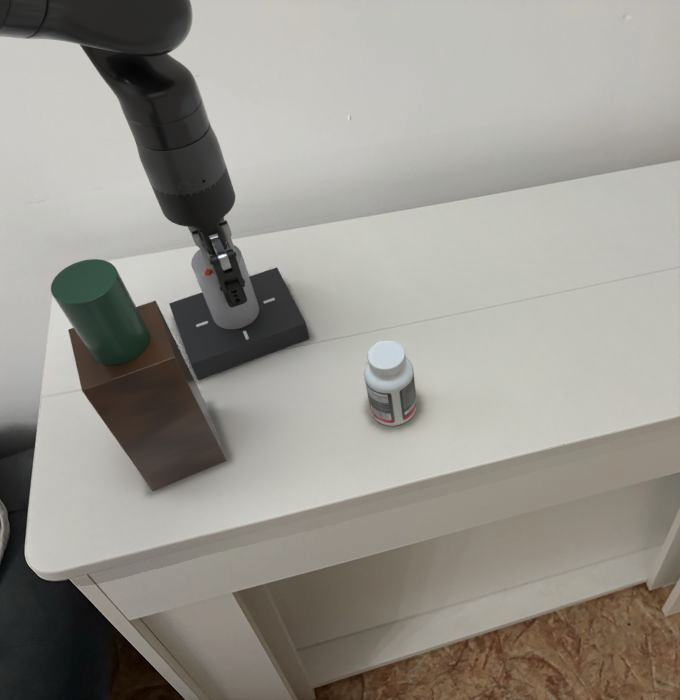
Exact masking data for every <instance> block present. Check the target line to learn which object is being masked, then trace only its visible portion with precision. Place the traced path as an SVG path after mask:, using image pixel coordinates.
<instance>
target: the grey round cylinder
mask: <svg viewBox="0 0 680 700" xmlns="http://www.w3.org/2000/svg"><path fill="white" fill-rule="evenodd" d="M233 245H234V247H235V250H236V253H237V255H238V261H237V262H238V265H239V268H240V271H241V274H242V277H243V279H244V280H245V287H243V289H244V291H245V294H246V297H247V302H246V303H244V304H241V305H238V306H236V307H229V306H228V303H227V301H226V298H225V296H224V293H223V291H221V290H220V285H218V284H217V281H218V280H217V278H216V275H215V273H214V271H213V270H210V269H208V267H207V265H206V263H205V261H204V258H203V256H202V253H201V251H200V249H198V250H197V251H196V252H195V253H194V254H193V256H192V258H191V261H190V262H191V265H190V266H191V268H192V271H193V274H194V277H195V278H196V281H197V283H198V286H199V288H200V290H201V293H203V295H204V298H205V300H206V303H207V305H208V308H209V310H210V312H211V315H212V317H213V320H214V322H215V323H216V324H217V325H218V326H220V327H222V328H224V329H239V328H243V327H245V326H247V325H249V324H250V323H252V322H253V321H254V320H255V319H256V317H257V316H258V313H259V305H258V302H257V299H256V296H255V293H254V290H253V287H252V284H251V281H250V278H249V276H250V275H249V271H248V269H247V265H246V263H245V259H244V255H243V253H242V251H241V249H240V248H239V247H238V246H237V245H235V244H233ZM205 250H206V248H205ZM227 250H230V249H229V247H228V244H227V249H226V251H227ZM226 251H225V252H226ZM206 252H207V250H206ZM207 255H208V257H209V256H212V255H209V253H208V252H207ZM209 258H210V257H209Z"/></svg>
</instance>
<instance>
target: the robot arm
mask: <svg viewBox="0 0 680 700" xmlns="http://www.w3.org/2000/svg"><path fill="white" fill-rule="evenodd" d="M192 26H193V7H192V3H191V0H0V37H3V38H4V37H5V38H13V39H23V40H25V39H27V40H52V41H60V42H66V43H71V44H76V45H79V46H80V48H82V51H83V52H84V53H85V55H86V57H87V58H88V59H89V61H90V62H91V64H92V65H93V67H94V68H95V69H96V71H97V73H98V74H99V75H100V77H101V79H102V80H103V81H104V82H105V84H106V85H107V86H108V87H109V88H110V90H111V91H112V93H113V94H114V96H115V97H116V98H117V100H118V102H119V105H120V108H121V111H122V113H123V115H124V118H125V120H126V122H127V124H128V127H129V129H130V132H131V134H132V136H133V139H134V142H135V145H136V149H137V153H138V157H139V160H140V162H141V166H142V168H143V170H144V172H145V175H146V177H147V179H148V182H149V184H150V186H151V188H152V191H153V193H154V195H155V198H156V200H157V203H158V205H159V208H160V210H161V213H162V215H163V216H164V217H165V218H166V219H167V220H168V221H170V222H171V223H172V224H175V225H177V226H182V227H187V229H188V231H189V233H190V235H191V237H192V240H193V242H194V245H195V246H196V247H197V248H199V250H200V251H201V253H202V256H203V258H204V261H205V263H206V265H207V267H208V269H210V270H213V271H214V273H215V275H216V278H217V280H218V281H217V284H218V285H220V290H221V291H223V293H224V296H225V298H226V301H227V303H228V306H229V307H236V306H238V305H241V304H244V303H246V302H247V297H246V294H245V291H244V289H243V287H245V280H244V279H243V277H242V274H241V271H240V268H239V265H238V262H237V261H238V255H237V253H236V250H235V247H234V245H235V244H234V242H233V240H232V236H233V235H232V234H233V233H232V229H231V228H230V225H229V222H228V220H227V219H225V217H226V215H228V214H229V213H230V212H231V210H232V209H233V207H234V205H235V202H236V193H235V190H234V186H233V182H232V179H231V177H230V174H229V170H228V166H227V164H226V160H225V158H224V155H223V151H222V148H221V145H220V142H219V139H218V137H217V134H216V133H215V130H214V129H213V127H212V125H211V122H210V119H209V116H208V113H207V110H206V106H205V102H204V101H203V97H202V94H201V92H200V89H199V86H198V83H197V81H196V79H195V76H194V75H193V73H192V72H191V70H189V68H188V67H186V66H185V65H184V64H183V63H182V62H180V61H178V60H177V59H175V58H174V57H173V56H171V55H170V54H169V53H171V52H174V51H175V50H177V49H178V48H179V47H180V46H181V45H182V44H183V43H184V42H185V41H186V39H187V38H188V36H189V34H190V31H191V29H192ZM227 244H228V247H229V249H230V250H227V251H226V249H227ZM205 248H206V250H207V252H208V253H209V255H212V256H209V257H210V258H209V257H208V255H207V252H206V250H205ZM225 251H226V252H225Z"/></svg>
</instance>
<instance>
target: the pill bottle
mask: <svg viewBox="0 0 680 700" xmlns="http://www.w3.org/2000/svg"><path fill="white" fill-rule="evenodd" d="M366 357H367V362H366V364H365V366H364V368H363V378H364V384H365V388H366V393H367V399H368V403H369V409H370V413H371V415H372V417H373V419H374V420H375V421H377V422H378V423H380V424H382V425H385V426H390V427H391V426H392V427H393V426H399V425H402V424H404V423H406V422H408V421H409V420H411V418H413V416H414V414H416V410H417V407H418V406H417V405H418V404H417V403H418V402H417V401H418V399H417V391H416V381H415V371H414V366H413V363H412V361H411V360H410V359H409V358H408V357H407V355H406V351H405V349H404V347H403V346H402V345H401V344H400V343H399V342H397V341H395V340H390V339H389V340H386V339H385V340H380V341H377V342H376V343H375V344H373V345H372V346H371V347H370V348H369V349H368V352H367V356H366Z"/></svg>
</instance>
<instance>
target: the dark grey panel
mask: <svg viewBox="0 0 680 700" xmlns="http://www.w3.org/2000/svg"><path fill="white" fill-rule="evenodd" d="M249 278H250V281H251V284H252V287H253V290H254V293H255V296H256V299H257V302H258V305H259V313H258V316H257V317H256V319H255V320H254V321H253V322H252V323H250V324H249V325H247V326H245V327H243V328H239V329H224V328H222V327H220V326H218V325H217V324H216V323H215V322H214V320H213V317H212V315H211V312H210V310H209V308H208V305H207V303H206V300H205V298H204V295H203V293H202V292H199V293H195V294H193V295H190V296H187V297H184V298H181V299H178V300H175V301H172V302H169V303H168V305H169V308H170V310H171V313H172V316H173V319H174V322H175V325H176V327H177V330H178V333H179V336H180V338H181V342H182V345H183V347H184V350H185V353H186V355H187V358H188V361H189V364H190V366H191V369H192V371H193V372H194V375H195V377H196V379H197V380H198V381H199V380H201V379H204V378H207V377H210V376H213V375H216V374H218V373H221V372H223V371H225V370H229V369H231V368H234V367H237V366H239V365H242V364H245V363H248V362H250V361H253V360H256V359H258V358H261V357H263V356H266V355H270V354H271V353H275V352H277V351H280V350H283V349H285V348H288V347H290V346H293V345H296V344H298V343H302V342H304V341H306V340H309V339H310V334H309V331H308V327H307V323H306V321H305V319H304V317H303V315H302V313H301V311H300V309H299V306H298V305H297V303H296V301H295V299H294V297H293V295H292V293H291V292H290V289H289V288H288V286H287V284H286V282H285V280H284V277H283V276H282V274H281V271H280V270H279V268H278V267H277V266H276V267H273V268H271V269H267V270H265V271H262V272H258V273H255V274H253V275H249Z"/></svg>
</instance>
